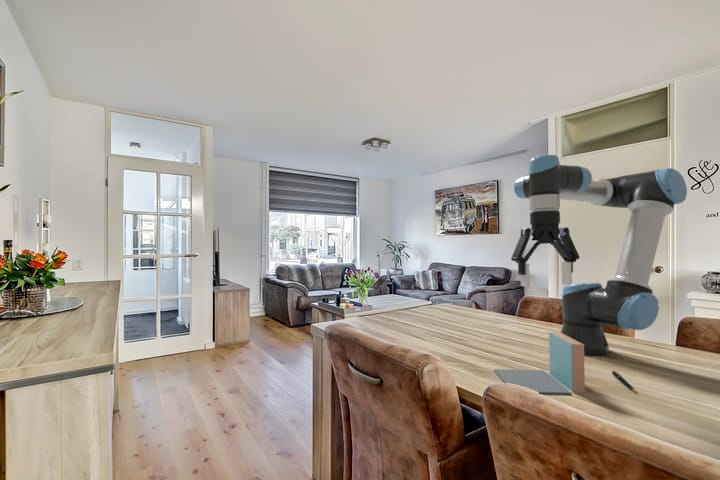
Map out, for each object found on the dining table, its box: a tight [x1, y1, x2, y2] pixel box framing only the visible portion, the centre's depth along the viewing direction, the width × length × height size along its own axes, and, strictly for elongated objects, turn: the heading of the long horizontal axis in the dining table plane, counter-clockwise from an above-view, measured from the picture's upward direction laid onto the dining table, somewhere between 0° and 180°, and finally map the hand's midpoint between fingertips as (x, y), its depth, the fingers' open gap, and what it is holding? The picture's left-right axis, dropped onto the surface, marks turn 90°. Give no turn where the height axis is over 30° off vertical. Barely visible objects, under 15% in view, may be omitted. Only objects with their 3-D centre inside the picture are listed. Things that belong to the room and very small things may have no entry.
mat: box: [493, 368, 572, 396], centre depth 93 cm, size 14×15×1 cm
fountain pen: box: [611, 370, 636, 392], centre depth 92 cm, size 14×1×2 cm, turn 163°
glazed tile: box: [548, 331, 586, 393], centre depth 92 cm, size 3×12×12 cm, turn 175°
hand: (546, 285), depth 98 cm, fingers open, 13 cm apart
